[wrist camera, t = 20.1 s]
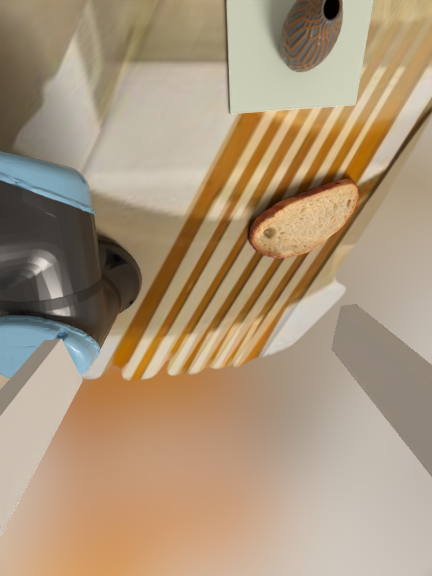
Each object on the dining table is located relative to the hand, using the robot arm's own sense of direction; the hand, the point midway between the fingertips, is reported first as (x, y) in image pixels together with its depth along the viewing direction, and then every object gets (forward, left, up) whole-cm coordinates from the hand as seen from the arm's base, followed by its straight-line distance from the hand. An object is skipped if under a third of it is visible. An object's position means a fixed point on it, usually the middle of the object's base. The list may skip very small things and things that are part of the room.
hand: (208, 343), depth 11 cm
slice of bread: (+20, -2, -35) cm, 41 cm away
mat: (+17, +22, -35) cm, 44 cm away
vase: (+17, +22, -34) cm, 44 cm away
